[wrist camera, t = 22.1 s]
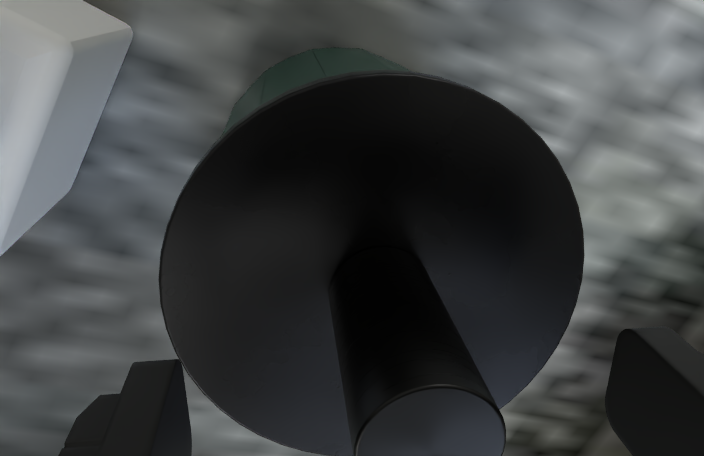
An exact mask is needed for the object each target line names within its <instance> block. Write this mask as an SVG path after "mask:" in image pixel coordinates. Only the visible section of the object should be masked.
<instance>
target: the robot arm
mask: <svg viewBox="0 0 704 456" xmlns="http://www.w3.org/2000/svg"><path fill="white" fill-rule="evenodd" d="M605 407H606V413H607V417H608V420H609V422H610V425H611V427H612V429H613V430H614V432H615V433H616V434H617V436H618V437H619V438H620V440H621V441H622V442H623V444H624V445H625V446H626V448H627V449H628V450H629V451H630V453H631V454H632V455H633V456H704V354H703V353H701V352H699V351H697V350H696V349H695V348H693V347H692V346H691V345H690V344H689V343H687V342H686V341H685V340H684V339H683V338H682V337H680V336H679V335H678V334H677V333H676V332H675V331H673V330H672V329H671V328H668V327H665V326H662V327H647V328H633V329H625V330H623V331H622V332H621V333H620V334H619V336H618V338H617V342H616V347H615V352H614V357H613V362H612V367H611V371H610V376H609V381H608V386H607V391H606V397H605ZM191 453H192V438H191V427H190V419H189V412H188V405H187V398H186V390H185V383H184V376H183V369H182V364H181V362H180V360H179V359H174V360H159V361H145V362H134V363H133V364H132V366H131V368H130V371H129V373H128V376H127V378H126V381H125V383H124V386H123V388H122V391H121V393H120V394H109V395H100V396H99V397H98V398H97V399H96V400H95V401H94V402H92V403H91V404H90V405H89V406H88V407H87V408H86V409H85V410H84V411H83V412H82V413H81V414H80V415H79V416H78V417H77V418H76V420H75V422H74V424H73V427H72V429H71V431H70V433H69V435H68V437H67V439H66V441H65V447H64V448H62V450H61V452H60V454H59V456H191Z"/></svg>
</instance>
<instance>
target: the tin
mask: <svg viewBox="0 0 704 456" xmlns="http://www.w3.org/2000/svg"><path fill="white" fill-rule="evenodd" d="M369 70H397V71H410V70H408V69H407V68H405V67H403V66H401V65H399V64H397V63H394V62H392V61H389V60H387V59H385V58H383V57H381V56H378V55H375V54H373V53H371V52H368V51H366V50H363V49H359V48H336V47H334V48H322V49H312V50H308V51H306V52H303V53H300V54H298V55H295V56H292V57H290V58H288V59H286V60H284V61H282V62H280V63H278V64H276V65H275V66H273V67H271V68H269V69H268V70H266V71H265V72H264V73H263V74H262V75H261V76H260V77H259V78H258V79H257V80H256V81H255V82H254V83H253V84H252V85H251V86H250V87H249V89H248V90H247V91H246V92H245V94H244V95H243V96H242V97H241V98H240V99H239V100H238V102H237V103H236V104H235V106H234V107H233V110H232V112H231V115H230V117H229V120H228V122H227V124H226V127H225V129H224V132H223V134H224V133H226V132H227V131H228V130H229V129H230V128H231V127H232V126H233V125H234V124H235V123H236V122H238V121H239V120H240V119H242V118H243V117H244V116H246V115H247V114H249V113H250V112H251V111H253V110H254V109H256V108H257V107H258V106H260V105H261V104H263V103H265V102H267V101H269V100H271V99H273V98H274V97H276V96H278V95H280V94H282V93H284V92H286V91H288V90H290V89H293V88H295V87H298V86H301V85H303V84H306V83H309V82H312V81H314V80H317V79H321V78H325V77H330V76H334V75H339V74H343V73H348V72H358V71H369ZM223 134H222V135H223Z"/></svg>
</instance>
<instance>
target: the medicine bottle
mask: <svg viewBox="0 0 704 456" xmlns="http://www.w3.org/2000/svg"><path fill="white" fill-rule="evenodd" d="M132 39H133V31H132V29H131V27H130V26H129V25H128V24H126V23H125V22H123V21H121V20H119V19H117V18H115V17H113V16H111V15H109V14H107V13H105V12H104V11H102V10H100V9H98V8H96V7H94V6H92V5H90V4H88V3H86V2H85V1H83V0H0V256H1V255H2V254H3V253H4V252H5V251H7V250H8V249H9V248H10V247H11V246H12V245H13V244H14V243H15V242H16V241H17V240H18V239H19V238H20V237H21V236H22V235H24V234H25V233H26V232H27V231H28V230H29V229H30V228H31V227H32V226H33V225H34V224H35V223H36V222H37V221H38V220H39V219H41V218H42V217H43V216H44V215H45V214H46V213H47V212H48V211H49V210H50V209H51V208H52V207H53V206H54V205H55V204H56V203H58V202H59V201H60V200H61V199H62V198H63V197H64V196H65V195H66V194H67V193H68V192H69V191H70V190H71V188H72V185H73V183H74V180H75V178H76V176H77V173H78V171H79V168H80V166H81V163H82V161H83V158H84V156H85V154H86V151H87V149H88V146H89V144H90V141H91V139H92V136H93V134H94V132H95V129H96V127H97V124H98V122H99V119H100V117H101V114H102V112H103V110H104V107H105V105H106V102H107V100H108V97H109V95H110V92H111V90H112V87H113V85H114V83H115V80H116V78H117V75H118V73H119V70H120V68H121V65H122V63H123V61H124V58H125V56H126V53H127V51H128V48H129V46H130V43H131V41H132Z"/></svg>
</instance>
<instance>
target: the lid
mask: <svg viewBox="0 0 704 456" xmlns="http://www.w3.org/2000/svg"><path fill="white" fill-rule="evenodd" d="M583 264H584V238H583V228H582V222H581V217H580V212H579V207H578V204H577V201H576V198H575V195H574V192H573V189H572V187H571V184H570V181H569V179H568V178H567V176H566V174H565V172H564V170H563V168H562V166H561V165H560V163H559V161H558V159H557V158H556V156H555V155H554V154H553V152H552V151H551V150H550V148H549V147H548V146H547V144H546V143H545V142H544V140H543V139H542V138H541V137H540V136H539V135H538V134H537V133H536V132H535V131H534V130H533V129H532V128H531V127H530V126H529V125H528V124H527V123H526V122H525V121H524V120H523V119H521V118H520V117H519V116H517V115H516V114H514V113H513V112H512V111H510V110H509V109H507V108H506V107H505V106H503V105H502V104H500V103H499V102H497V101H495V100H493V99H491V98H489V97H487V96H485V95H483V94H481V93H479V92H477V91H475V90H474V89H472V88H470V87H468V86H465V85H462V84H459V83H456V82H453V81H450V80H447V79H444V78H442V77H438V76H433V75H427V74H422V73H417V72H412V71H397V70H369V71H358V72H348V73H343V74H339V75H334V76H330V77H325V78H321V79H317V80H314V81H312V82H309V83H306V84H303V85H301V86H298V87H295V88H293V89H290V90H288V91H286V92H284V93H282V94H280V95H278V96H276V97H274V98H273V99H271V100H269V101H267V102H265V103H263V104H261V105H260V106H258V107H257V108H256V109H254V110H253V111H251V112H250V113H249V114H247V115H246V116H244V117H243V118H242V119H240V120H239V121H238V122H236V123H235V124H234V125H233V126H232V127H231V128H230V129H229V130H228V131H227V132H226V133H224V134H223V135H222V136H221V137H220V138H219V139H218V140H217V141H216V142H215V143H214V144H213V145H212V147H211V148H210V149H209V150H208V152H207V153H206V154H205V155H204V157H203V158H202V159H201V161H200V162H199V163H198V164H197V166H196V167H195V169H194V170H193V172H192V174H191V175H190V177H189V179H188V181H187V182H186V184H185V186H184V187H183V189H182V191H181V193H180V195H179V197H178V199H177V201H176V204H175V206H174V209H173V211H172V214H171V216H170V219H169V221H168V224H167V228H166V232H165V236H164V240H163V245H162V249H161V256H160V268H159V289H160V303H161V308H162V312H163V317H164V321H165V325H166V329H167V332H168V334H169V337H170V340H171V342H172V345H173V347H174V350H175V352H176V354H177V356H178V357H179V359H180V361H181V363H182V364H183V366H184V368H185V370H186V371H187V373H188V375H189V376H190V377H191V378H192V380H193V381H194V382H195V384H196V385H197V386H198V387H199V389H200V390H201V391H202V393H203V394H204V395H205V396H206V397H208V398H209V399H210V400H211V401H212V402H213V403H214V404H215V405H216V406H217V407H218V408H219V409H220V410H221V411H223V412H224V413H225V414H227V415H228V416H229V417H231V418H232V419H233V420H235V421H236V422H237V423H239V424H240V425H242V426H244V427H246V428H247V429H249V430H251V431H253V432H254V433H256V434H258V435H260V436H262V437H264V438H267V439H269V440H272V441H274V442H276V443H279V444H281V445H284V446H288V447H291V448H295V449H298V450H301V451H305V452H311V453H316V454H322V455H328V456H502V454H503V452H504V448H505V443H506V428H505V423H504V419H503V416H502V414H501V412H500V411H499V409H501V408H502V407H503V406H505V405H506V404H507V403H509V402H510V401H511V400H512V399H513V398H514V397H515V396H516V395H517V394H518V393H520V392H521V391H522V390H523V389H524V388H525V387H526V386H527V385H528V384H529V383H530V382H531V380H532V379H533V378H534V377H535V376H536V375H537V374H538V372H539V371H540V370H541V369H542V368H543V366H544V365H545V364H546V362H547V361H548V359H549V358H550V356H551V355H552V353H553V352H554V350H555V349H556V348H557V346H558V344H559V342H560V340H561V338H562V336H563V334H564V332H565V331H566V329H567V327H568V324H569V322H570V319H571V316H572V314H573V311H574V308H575V306H576V303H577V299H578V295H579V290H580V286H581V282H582V274H583Z"/></svg>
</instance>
